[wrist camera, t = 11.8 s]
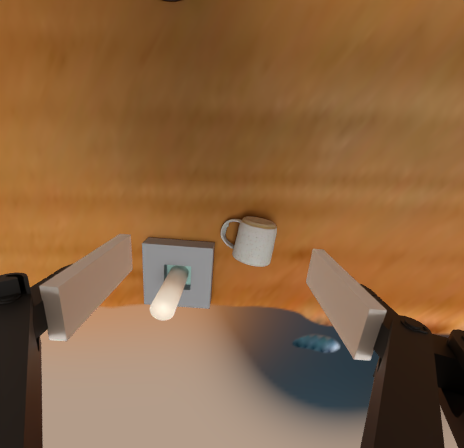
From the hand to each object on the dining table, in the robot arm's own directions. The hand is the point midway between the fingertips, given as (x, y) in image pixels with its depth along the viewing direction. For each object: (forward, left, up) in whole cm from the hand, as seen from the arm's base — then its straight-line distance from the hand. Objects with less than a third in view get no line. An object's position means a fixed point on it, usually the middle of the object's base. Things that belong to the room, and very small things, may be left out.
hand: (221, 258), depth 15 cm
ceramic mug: (+8, +5, -29) cm, 30 cm away
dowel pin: (+17, -9, -27) cm, 33 cm away
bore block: (+17, -9, -29) cm, 35 cm away
